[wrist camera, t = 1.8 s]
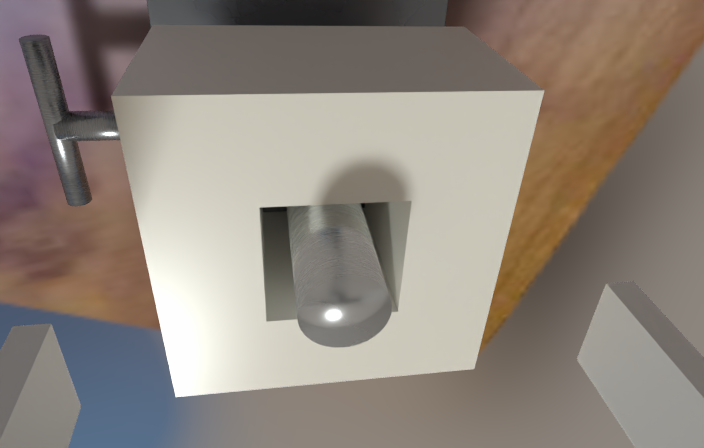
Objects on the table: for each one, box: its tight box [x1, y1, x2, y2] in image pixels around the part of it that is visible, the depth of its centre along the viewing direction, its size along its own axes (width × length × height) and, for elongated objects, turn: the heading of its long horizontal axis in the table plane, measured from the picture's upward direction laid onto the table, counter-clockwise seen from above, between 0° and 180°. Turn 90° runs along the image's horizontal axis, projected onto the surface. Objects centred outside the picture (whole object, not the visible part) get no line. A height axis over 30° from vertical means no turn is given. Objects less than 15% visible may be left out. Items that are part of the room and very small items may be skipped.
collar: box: [111, 25, 544, 397], centre depth 18 cm, size 10×10×6 cm
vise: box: [19, 0, 448, 348], centre depth 19 cm, size 14×16×15 cm
